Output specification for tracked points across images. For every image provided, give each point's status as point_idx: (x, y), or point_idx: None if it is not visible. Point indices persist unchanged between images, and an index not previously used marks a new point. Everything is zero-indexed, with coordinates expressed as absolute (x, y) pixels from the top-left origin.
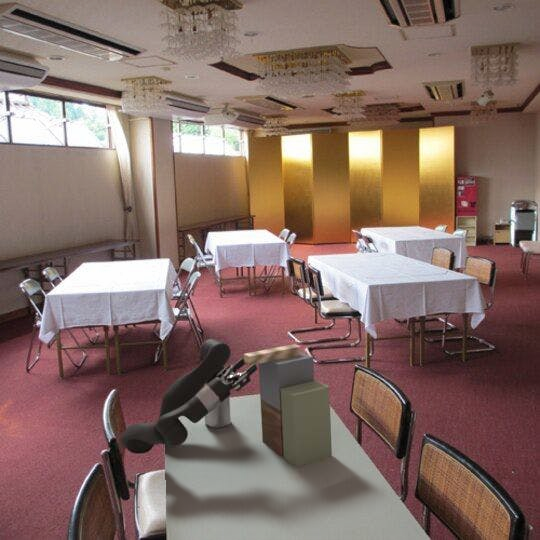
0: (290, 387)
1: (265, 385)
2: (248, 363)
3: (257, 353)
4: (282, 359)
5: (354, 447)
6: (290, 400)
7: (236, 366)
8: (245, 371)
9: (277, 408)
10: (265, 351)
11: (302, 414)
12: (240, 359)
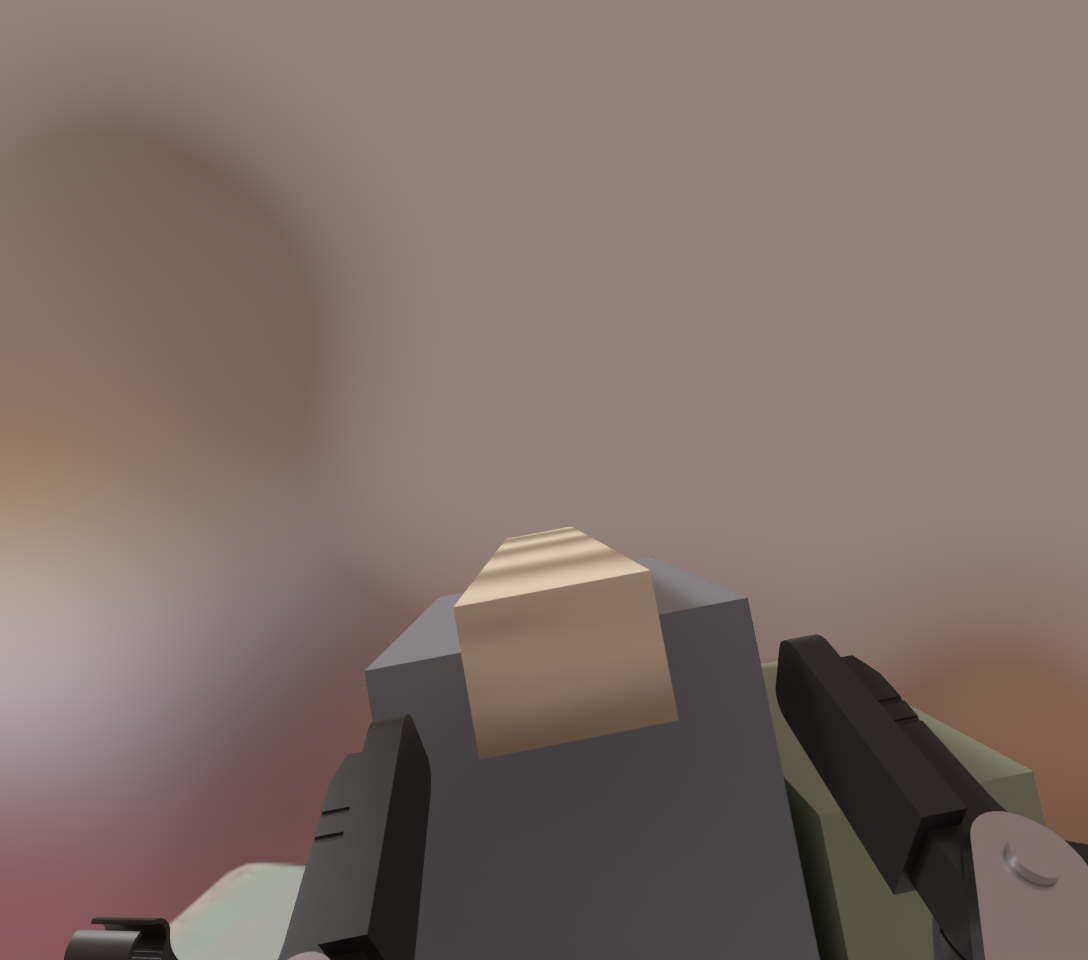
0: (798, 762)
1: (536, 929)
2: (637, 702)
3: (561, 561)
4: None
5: None
6: None
7: (387, 943)
8: (988, 824)
9: None
10: (542, 553)
11: None
12: (375, 749)
